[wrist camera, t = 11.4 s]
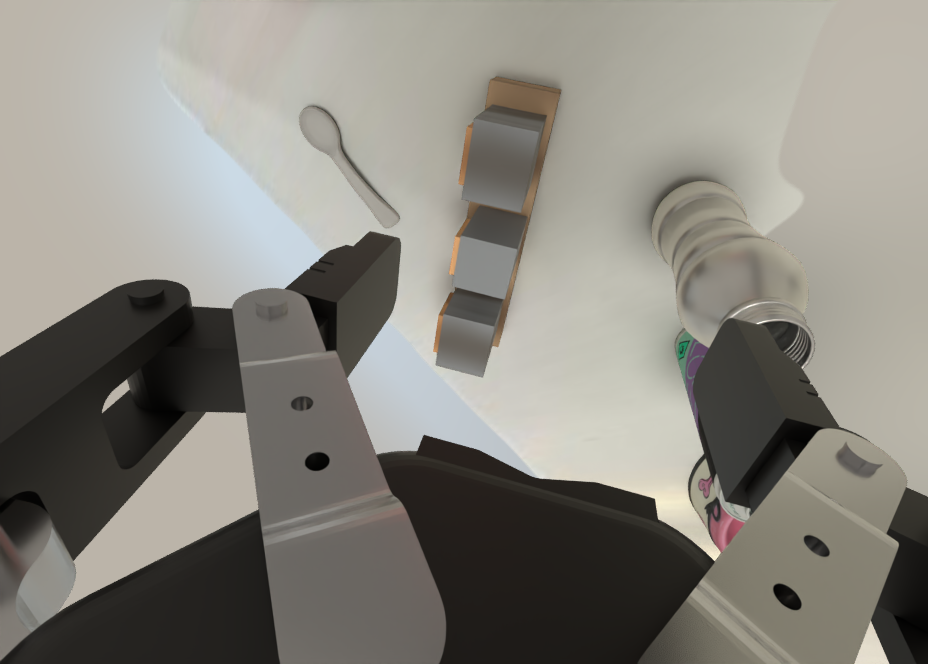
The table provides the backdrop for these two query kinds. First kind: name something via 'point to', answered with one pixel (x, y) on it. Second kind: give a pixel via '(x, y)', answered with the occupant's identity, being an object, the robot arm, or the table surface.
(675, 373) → the table surface
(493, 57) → the table surface
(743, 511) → the spray can
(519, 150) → the rail
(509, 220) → the grey block
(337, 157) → the spoon
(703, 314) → the plastic bottle
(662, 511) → the table surface
